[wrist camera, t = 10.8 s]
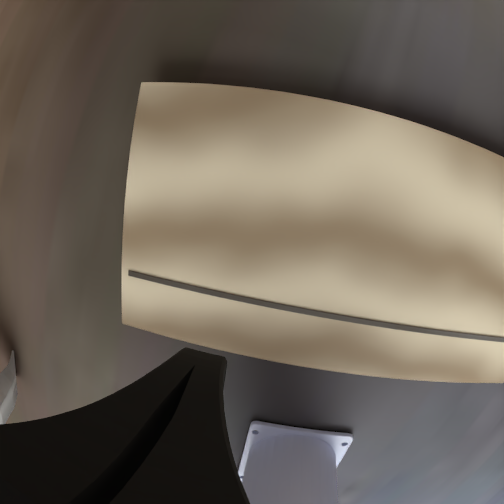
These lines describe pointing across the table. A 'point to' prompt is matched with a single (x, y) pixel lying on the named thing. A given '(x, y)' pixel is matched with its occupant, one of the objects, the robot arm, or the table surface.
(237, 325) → the board
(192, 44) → the table surface
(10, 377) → the hammer
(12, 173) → the table surface
